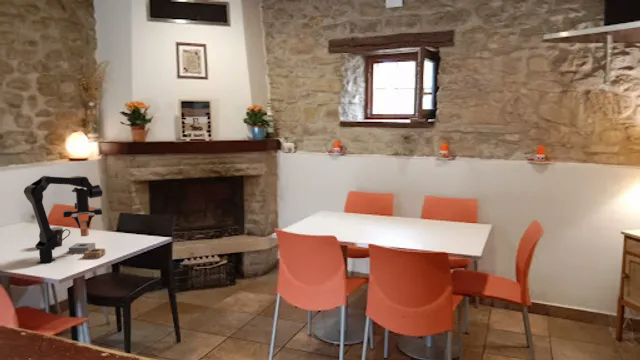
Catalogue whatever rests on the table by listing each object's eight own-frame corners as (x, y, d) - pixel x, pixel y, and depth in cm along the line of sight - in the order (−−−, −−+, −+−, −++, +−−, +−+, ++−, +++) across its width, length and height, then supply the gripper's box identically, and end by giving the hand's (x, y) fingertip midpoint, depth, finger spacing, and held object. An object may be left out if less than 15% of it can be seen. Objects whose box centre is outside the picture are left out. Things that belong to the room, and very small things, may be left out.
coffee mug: (44, 248, 283) (43, 230, 282) (49, 244, 292) (48, 227, 291) (67, 247, 286) (66, 229, 284) (71, 243, 294) (70, 226, 293)
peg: (86, 236, 273) (85, 221, 272) (80, 236, 273) (79, 221, 272) (88, 235, 276) (87, 220, 275) (83, 235, 276) (82, 220, 275)
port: (88, 252, 273) (88, 247, 273) (69, 253, 273) (68, 247, 272) (95, 248, 283) (95, 242, 283) (76, 248, 283) (76, 243, 282)
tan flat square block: (100, 258, 263) (99, 252, 263) (84, 258, 263) (83, 252, 262) (105, 254, 271) (105, 248, 271) (90, 254, 271) (89, 248, 270)
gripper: (101, 196, 282) (103, 223, 284) (64, 198, 276) (66, 226, 278) (101, 199, 272) (103, 228, 274) (62, 201, 265) (64, 231, 267)
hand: (84, 228), depth 274 cm, fingers closed on peg, 4 cm apart
